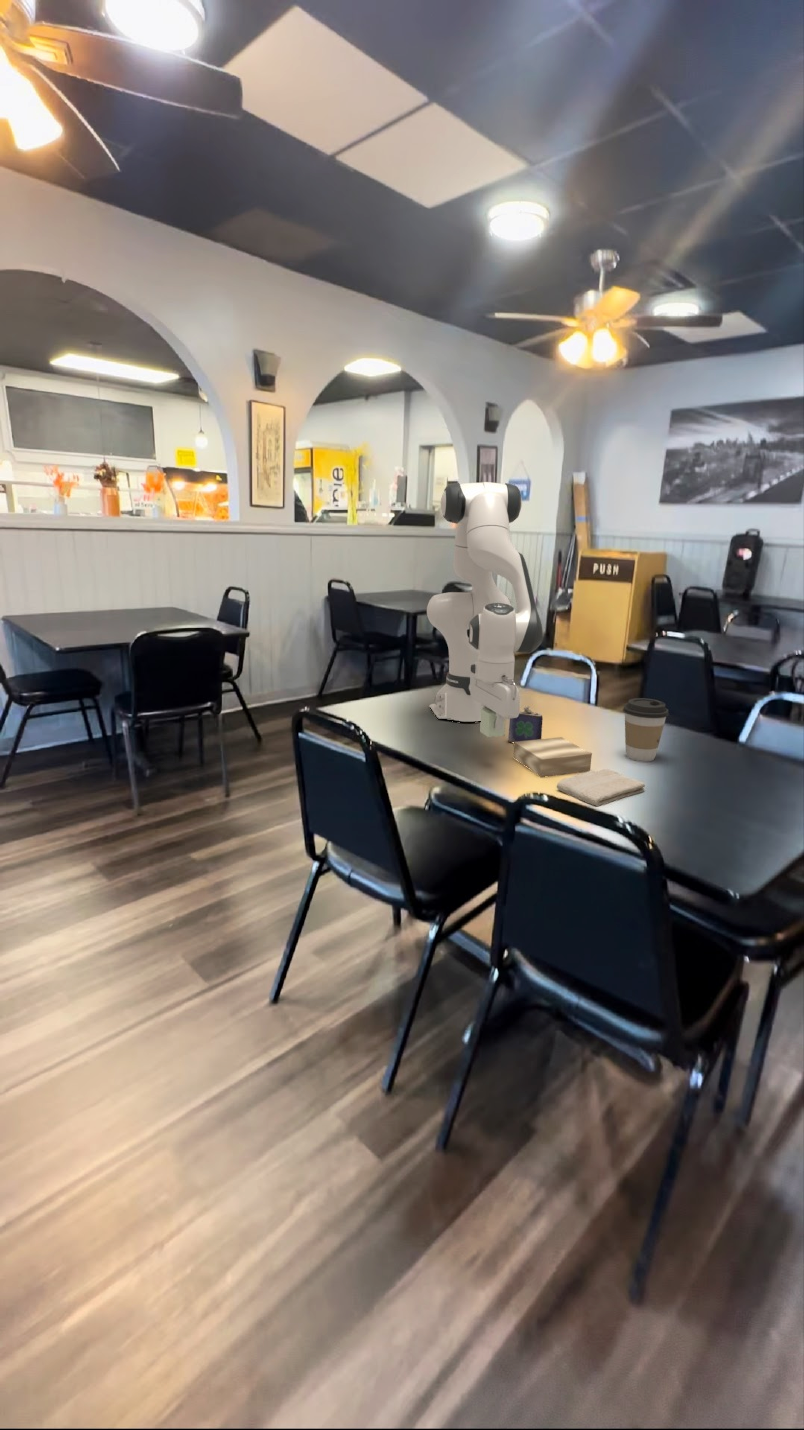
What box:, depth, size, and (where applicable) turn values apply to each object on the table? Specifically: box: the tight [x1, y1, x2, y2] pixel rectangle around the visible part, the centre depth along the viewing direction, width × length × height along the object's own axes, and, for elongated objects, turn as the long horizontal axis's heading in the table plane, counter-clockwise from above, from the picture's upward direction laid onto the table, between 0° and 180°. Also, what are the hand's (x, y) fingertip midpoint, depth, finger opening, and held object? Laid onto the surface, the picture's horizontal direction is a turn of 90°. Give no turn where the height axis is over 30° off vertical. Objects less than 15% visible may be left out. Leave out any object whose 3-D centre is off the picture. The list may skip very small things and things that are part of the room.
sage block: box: [479, 708, 506, 738], centre depth 167 cm, size 4×4×6 cm
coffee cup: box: [622, 697, 670, 763], centre depth 175 cm, size 11×11×15 cm
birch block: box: [512, 736, 593, 778], centre depth 170 cm, size 14×14×5 cm
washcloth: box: [556, 768, 646, 807], centre depth 154 cm, size 12×18×3 cm, turn 125°
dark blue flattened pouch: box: [507, 705, 544, 743], centre depth 185 cm, size 9×3×11 cm, turn 65°
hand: (492, 725), depth 167 cm, fingers closed on sage block, 4 cm apart
